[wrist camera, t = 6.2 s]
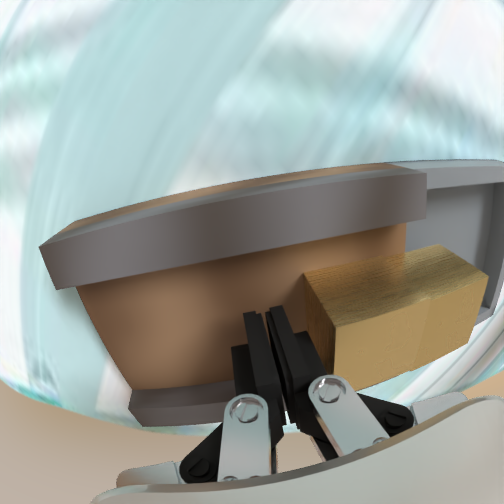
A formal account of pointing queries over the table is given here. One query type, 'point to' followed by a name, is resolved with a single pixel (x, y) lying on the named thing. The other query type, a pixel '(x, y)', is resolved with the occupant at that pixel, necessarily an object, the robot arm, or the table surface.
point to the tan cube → (443, 298)
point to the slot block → (221, 272)
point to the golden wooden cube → (365, 320)
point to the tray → (464, 217)
